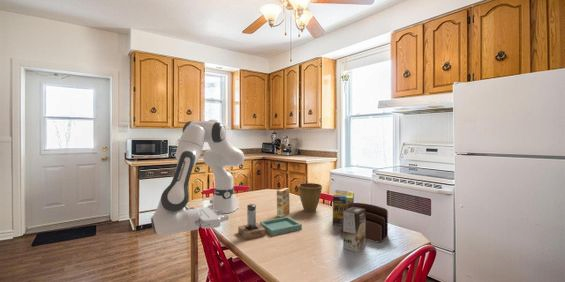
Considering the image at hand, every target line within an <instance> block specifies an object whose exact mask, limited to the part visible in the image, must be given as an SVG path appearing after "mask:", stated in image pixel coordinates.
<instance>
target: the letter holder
mask: <svg viewBox="0 0 565 282" xmlns="http://www.w3.org/2000/svg"><path fill="white" fill-rule="evenodd" d="M351 207H358V208H363V209H366V219H365V240H369V241H373V242H377V243H380V244H381V243H383V242H384V241H385V240H386V238H388V236H389V234H388V230H389V229H388V227H389V226H388V225H389V222H388V221H389V219H388V218H389V216H388V215H389V214H388V210H387V209H386V208H384V207H381V206H378V205H374V204H369V203H362V202H361V203H360V202H354V203H349V204H348V209H349V208H351ZM343 218H344V217H342V218H341V226H340V229H339V231H340V234H343Z"/></svg>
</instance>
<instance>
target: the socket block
mask: <svg viewBox="0 0 565 282" xmlns="http://www.w3.org/2000/svg"><path fill="white" fill-rule="evenodd" d="M237 228H238V234H239V235H240V236H241V237H242V238H244V240H251V239H255V238H261V237H264V236H266V231H265V229H264V228H263V227H262V226H260V223H257V222H256V229H254V230H248V226H247V224H245V225H239V226H238V227H237Z"/></svg>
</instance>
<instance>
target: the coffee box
mask: <svg viewBox="0 0 565 282" xmlns="http://www.w3.org/2000/svg"><path fill="white" fill-rule="evenodd" d="M365 219H366V209H363V208H358V207H351V208H349V209H346V210H344V218H343V233H342V234H343V235H342V241H343V242H342V243H343V244H342V248H343V249H347V250H349V251H353V252H359V251H360V250H361V249H362V248H363V247H364V246H365V245H366V239H365Z"/></svg>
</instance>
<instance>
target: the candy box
mask: <svg viewBox="0 0 565 282" xmlns="http://www.w3.org/2000/svg"><path fill="white" fill-rule="evenodd" d="M290 206H291V205H290V188H288V187H282V188H280V189H278V190H276V217H279V218H283V217H286V216H287V215H289V214H290V213H291V211H290Z"/></svg>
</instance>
